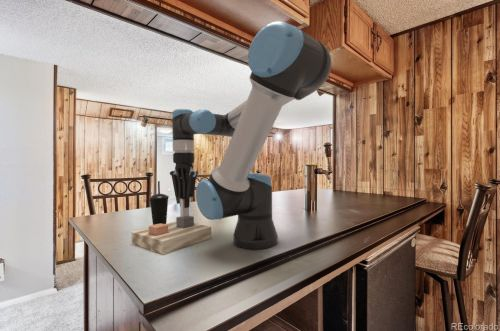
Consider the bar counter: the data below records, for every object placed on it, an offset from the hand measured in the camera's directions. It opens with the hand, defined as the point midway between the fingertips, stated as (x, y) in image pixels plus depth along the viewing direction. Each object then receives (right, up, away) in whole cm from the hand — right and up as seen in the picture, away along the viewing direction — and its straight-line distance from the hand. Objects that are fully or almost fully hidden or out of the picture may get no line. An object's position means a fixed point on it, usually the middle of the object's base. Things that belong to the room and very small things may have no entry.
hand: (184, 216), depth 92 cm
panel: (-3, -8, -4) cm, 9 cm away
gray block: (0, -5, 0) cm, 5 cm away
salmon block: (-6, -6, -9) cm, 13 cm away
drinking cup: (-13, -8, +11) cm, 19 cm away
